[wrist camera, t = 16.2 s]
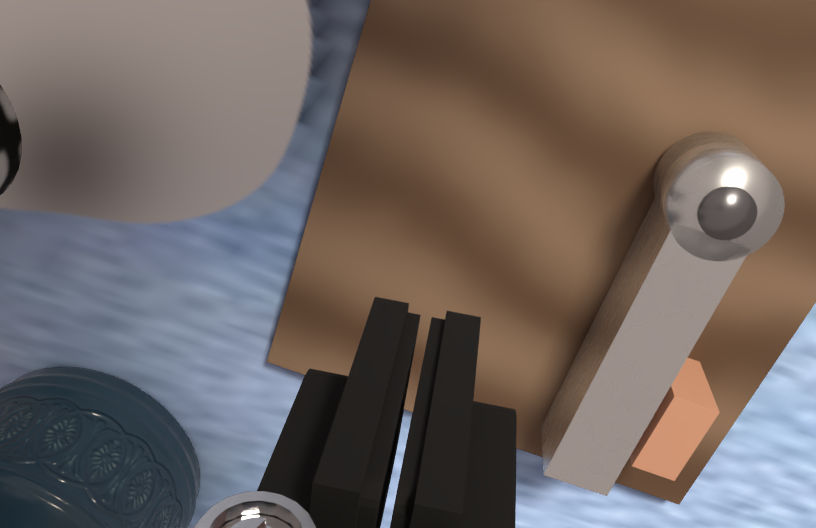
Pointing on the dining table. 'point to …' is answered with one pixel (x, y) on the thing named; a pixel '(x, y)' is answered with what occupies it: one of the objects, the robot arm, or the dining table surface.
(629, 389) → the bar
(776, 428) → the dining table surface
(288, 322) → the brown wooden board
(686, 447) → the block
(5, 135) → the white-spotted black cylinder
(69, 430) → the canister
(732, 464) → the dining table surface
